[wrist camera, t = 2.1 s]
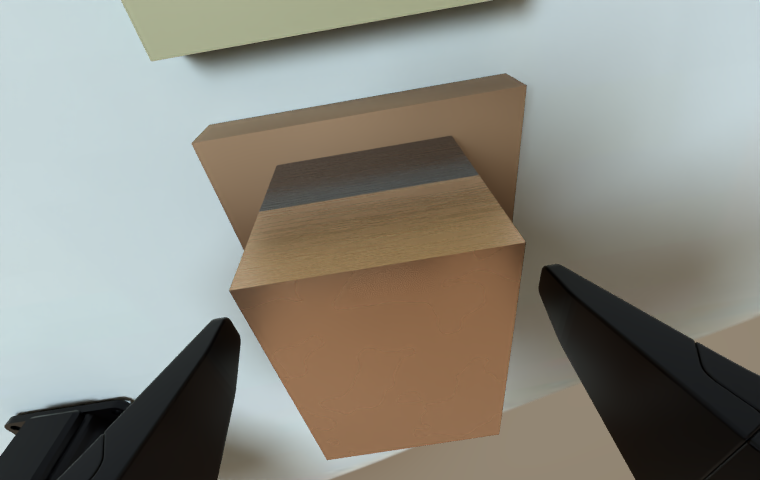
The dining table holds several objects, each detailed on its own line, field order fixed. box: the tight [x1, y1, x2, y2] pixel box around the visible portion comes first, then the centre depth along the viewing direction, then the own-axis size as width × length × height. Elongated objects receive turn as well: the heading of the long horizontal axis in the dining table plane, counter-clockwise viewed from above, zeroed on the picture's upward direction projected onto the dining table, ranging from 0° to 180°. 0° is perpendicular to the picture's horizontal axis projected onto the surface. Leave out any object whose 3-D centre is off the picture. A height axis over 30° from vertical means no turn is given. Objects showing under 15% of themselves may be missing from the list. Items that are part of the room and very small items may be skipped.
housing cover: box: [229, 175, 526, 460], centre depth 9 cm, size 7×5×2 cm
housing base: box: [259, 135, 479, 212], centre depth 11 cm, size 7×5×2 cm
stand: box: [192, 73, 527, 250], centre depth 12 cm, size 9×9×2 cm
